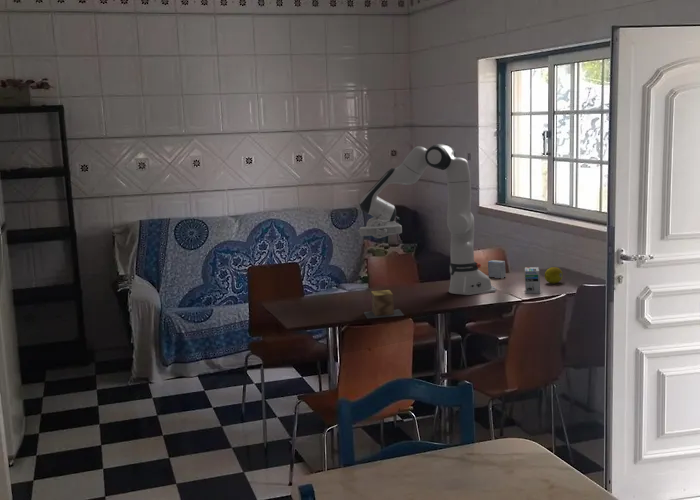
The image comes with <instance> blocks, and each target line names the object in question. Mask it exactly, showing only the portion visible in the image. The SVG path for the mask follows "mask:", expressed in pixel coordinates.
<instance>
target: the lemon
mask: <svg viewBox="0 0 700 500" xmlns="http://www.w3.org/2000/svg"><path fill="white" fill-rule="evenodd" d="M563 275H564V274H563V271H562V270H561V268H559V267H555V266H552V267H549V268H548V269H546V271H545V272H544V280H545V281H546V282H547V283H549V284H551V285H555V284H558V283H560V282H561V281H562V279H563Z"/></svg>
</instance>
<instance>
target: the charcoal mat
mask: <svg viewBox="0 0 700 500" xmlns="http://www.w3.org/2000/svg"><path fill="white" fill-rule="evenodd" d="M363 314H364V316H365V318H366V319H367V320H368V319H369V320H370V319H380V318H391V317H402V316H403V317H404V316H405V314H404V313H403V312H402V311H401V309H399V308H398V309H397V308H396V309H394V314H391V315H380V316H375V314H374V313H373V311H372V310H371V311H364V312H363Z"/></svg>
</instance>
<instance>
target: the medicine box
mask: <svg viewBox="0 0 700 500" xmlns="http://www.w3.org/2000/svg"><path fill="white" fill-rule="evenodd" d="M487 269H488V270H487V273H488V274H487V276H488V277H495V278H494V279H499V278H502V279H505V278H506V277H507V276H506V275H507V274H506V261H505V260H496V259H492V260H489V261H487ZM504 277H505V278H504Z"/></svg>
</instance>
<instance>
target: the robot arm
mask: <svg viewBox="0 0 700 500" xmlns="http://www.w3.org/2000/svg"><path fill="white" fill-rule="evenodd" d="M429 166H430V167H432V168H433V169H436V170H437V169H438V170H442V171H445V173H446V182H447V183H446V185H447V210H446V211H447V214H446V215H447V216H446V220H447V221H446V225H447V229H448V231H449V232H450V234H451V235H450V246H449V248H450V249H449V251H450V252H449V253H450V263H449V274H450V283H449V288H448V293H450V294H455V295H464V296H470V295H479V294H481V295H482V294H487V293H489V294H490V293H494V292H496V291H497V287H495V286H493V285H492V282H491V279H490V278H489V277H488V274H486V273H484V271H483V272H482V271H481V270H480V268H482V264H481V263H480V262H476V261H475V248H474V243H475V217H474V214H473V212H472V181H471V179H472V178H471V177H472V176H471V171H470V166H469V162H468V160H467V159H466V158H464V157H456V151H455V149H454V147H452V146H451V145H450V144H447V143H446V144H445V143H438V144H433V145H431V146H430V147H428V148H426V147H424V146H422V145H421V146H418V145H417V146H415V147H414V148H413V149H412V150H410V151H409V152H408V154H407V155H406V157H405V158H404V160H403V161H402V162H401V164H400V165H398V166H397V167H394V168H390V169H388V171H386V172H385V173H384V175H383V176H381V178H380V179H379V180H378V181H377V182H376V183H375V184H374V186H372V187H371V188H370V190H368V192H366V193H365V194H364V195H363V196H362V197H361V199H360V201H359V203H358V204H359V207H360V210H361V212H364V213H366V214H367V215H370V216H372V217H371V218H369V219H368V220H367V221H366V226H361V227H359V229H357V233H359V236H360V237H368V236H369V237H370V236H372V237H373V238H375V239H382V238H385V237H388V236H394V235H395V236H396V235H397V234H402V233H403V227H402V226H403V225H401V224H400V223H397V222H396V221H394V220H395V218H396V216H397V209H396V206H395V205H394V204H392V203H390V202H388V201H386V200H385V199H383V198H381V197H380V196H379V194H381V192H382V191H383V190H384V188H386V187H387V186H388V185H389V184H397V185H399V184H400V185H404V186H405V185H409V186H410V185H414V184H415V183H417V182H418V181H419V180H420V178H421V177H422V176H423V174H424V173H425V170H427V168H428V167H429Z"/></svg>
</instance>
